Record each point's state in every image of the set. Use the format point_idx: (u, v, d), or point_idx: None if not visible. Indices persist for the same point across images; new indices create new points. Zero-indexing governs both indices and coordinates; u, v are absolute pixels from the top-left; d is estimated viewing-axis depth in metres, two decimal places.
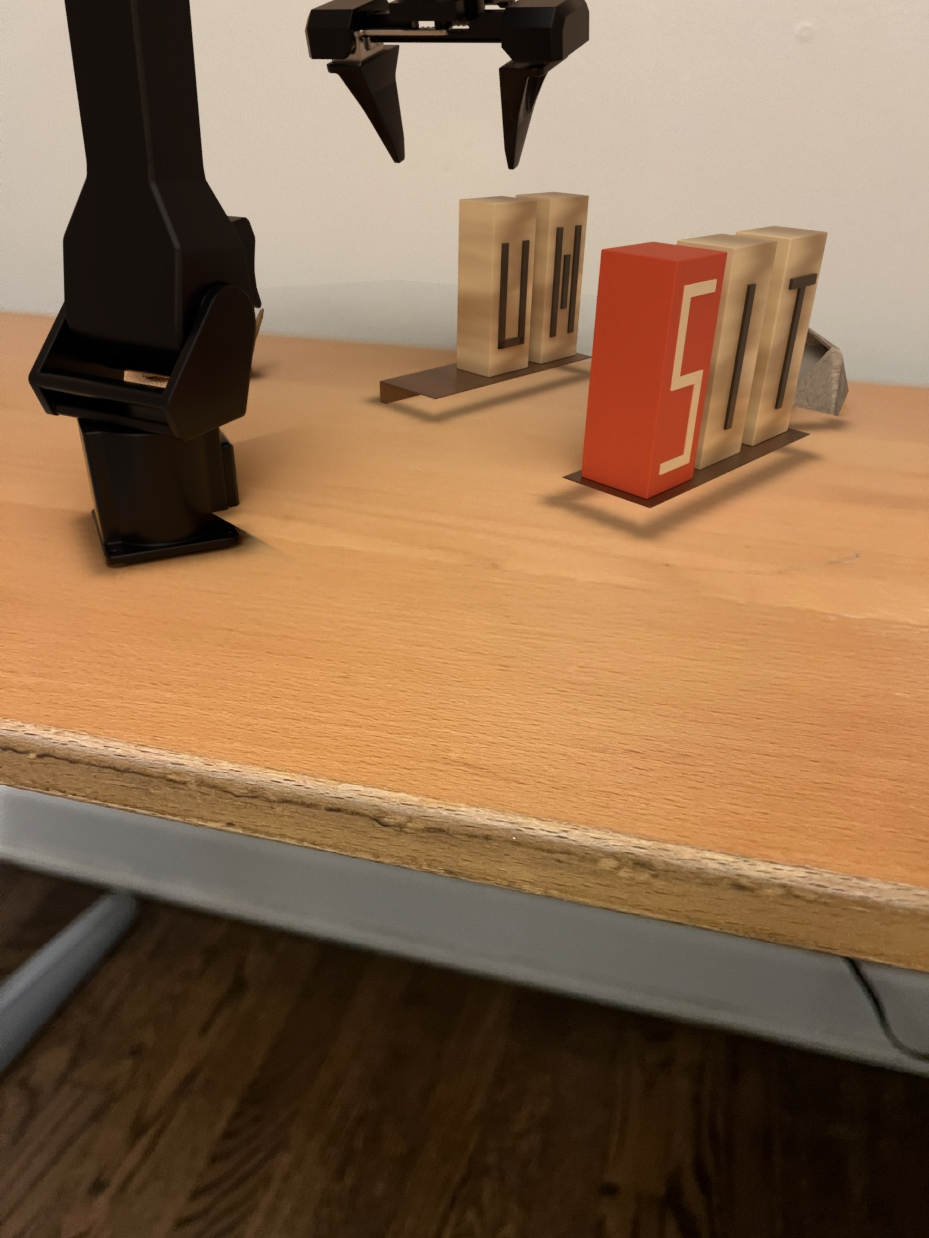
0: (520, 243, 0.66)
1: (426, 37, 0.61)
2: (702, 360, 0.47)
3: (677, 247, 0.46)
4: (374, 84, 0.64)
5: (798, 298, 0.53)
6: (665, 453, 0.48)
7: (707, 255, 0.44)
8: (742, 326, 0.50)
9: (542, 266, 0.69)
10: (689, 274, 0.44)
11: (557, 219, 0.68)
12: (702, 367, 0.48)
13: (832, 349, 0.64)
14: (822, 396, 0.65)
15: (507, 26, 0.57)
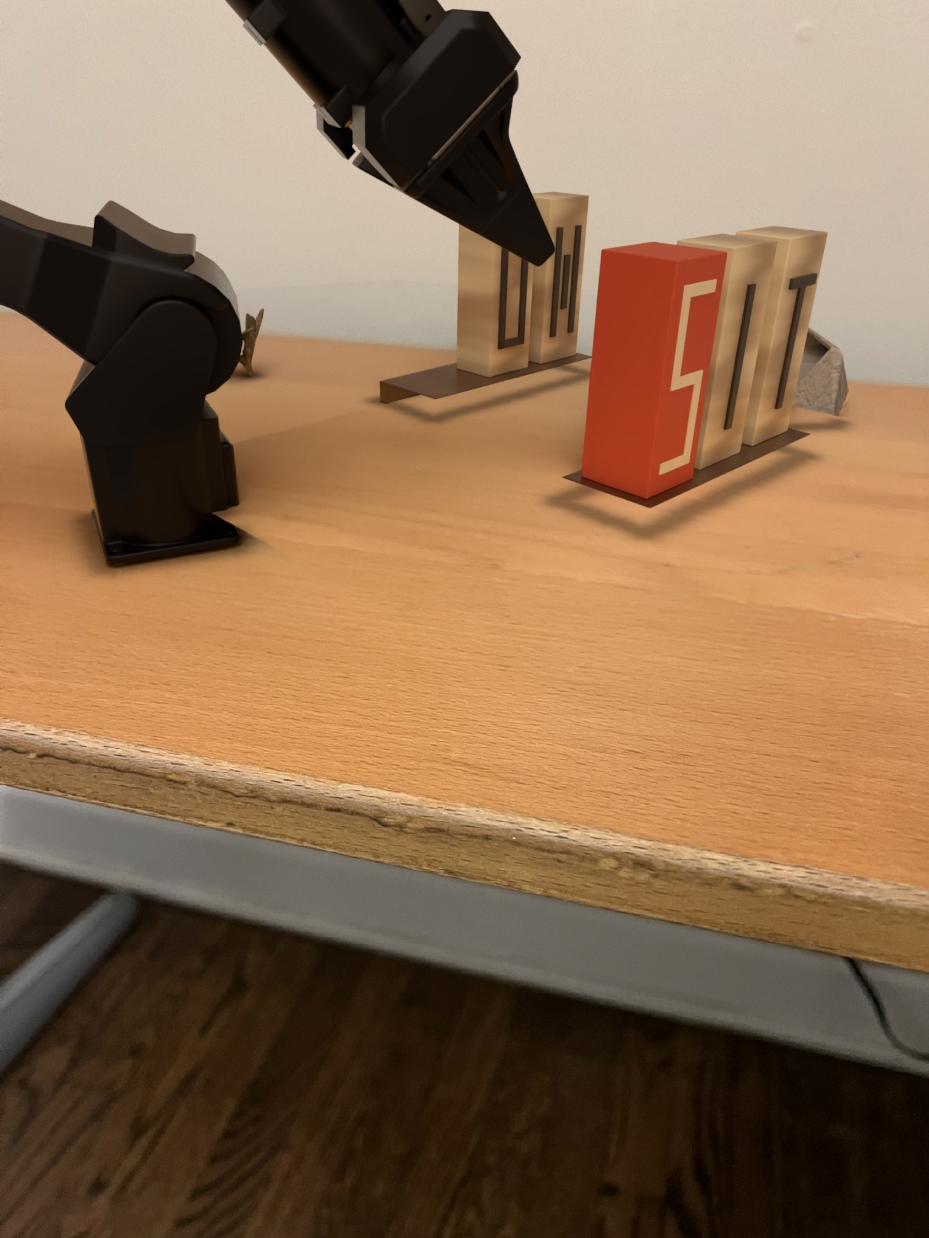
0: None
1: None
2: (702, 360, 0.47)
3: (677, 247, 0.46)
4: None
5: (798, 298, 0.53)
6: (665, 453, 0.48)
7: (707, 255, 0.44)
8: (742, 326, 0.50)
9: (542, 266, 0.69)
10: (689, 274, 0.44)
11: (557, 219, 0.68)
12: (702, 367, 0.48)
13: (832, 349, 0.64)
14: (822, 396, 0.65)
15: (355, 140, 0.35)
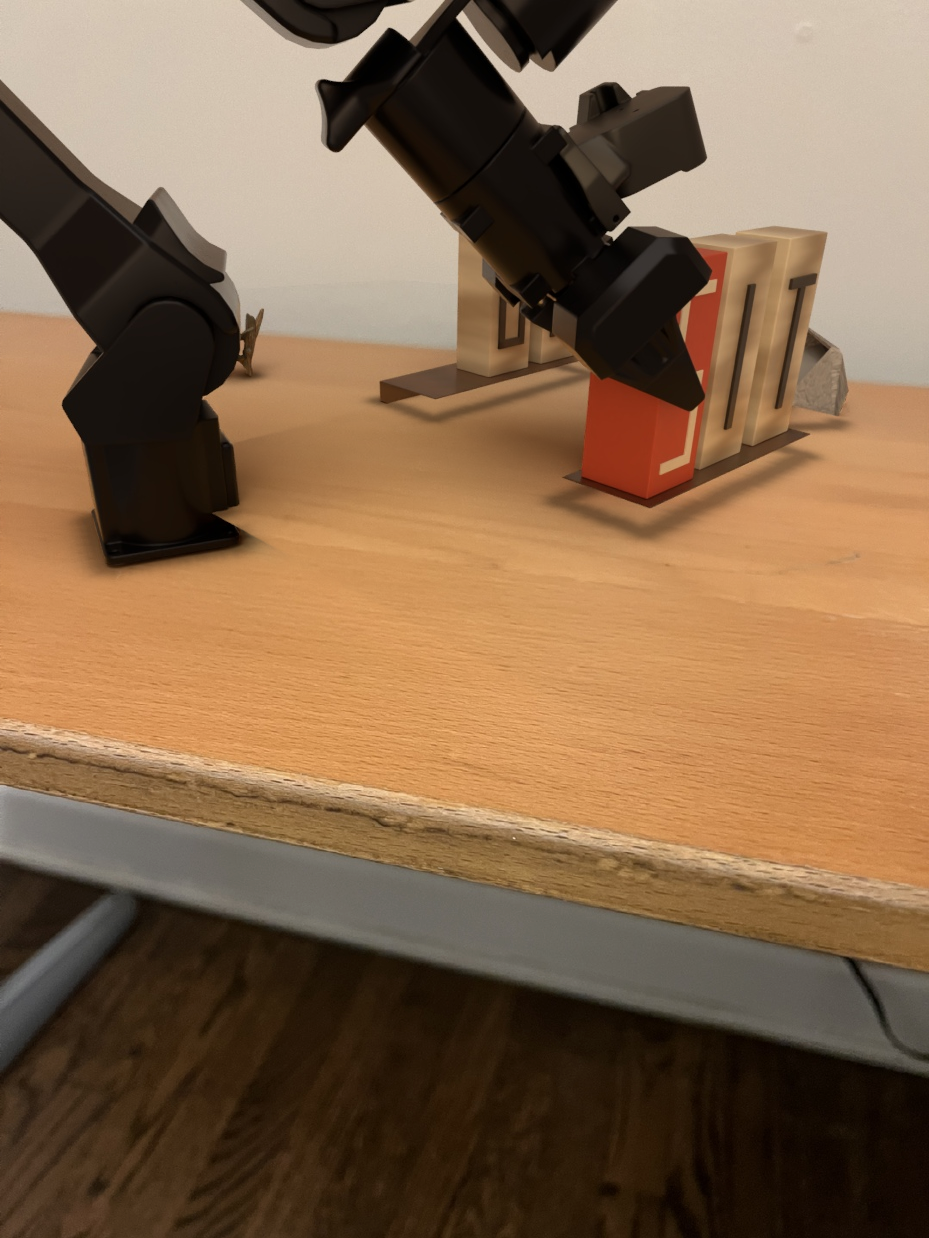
0: None
1: None
2: (703, 360, 0.47)
3: None
4: None
5: (798, 298, 0.53)
6: (665, 453, 0.48)
7: (707, 255, 0.44)
8: (742, 326, 0.50)
9: None
10: None
11: None
12: (703, 367, 0.48)
13: (832, 349, 0.64)
14: (822, 396, 0.65)
15: (555, 331, 0.40)
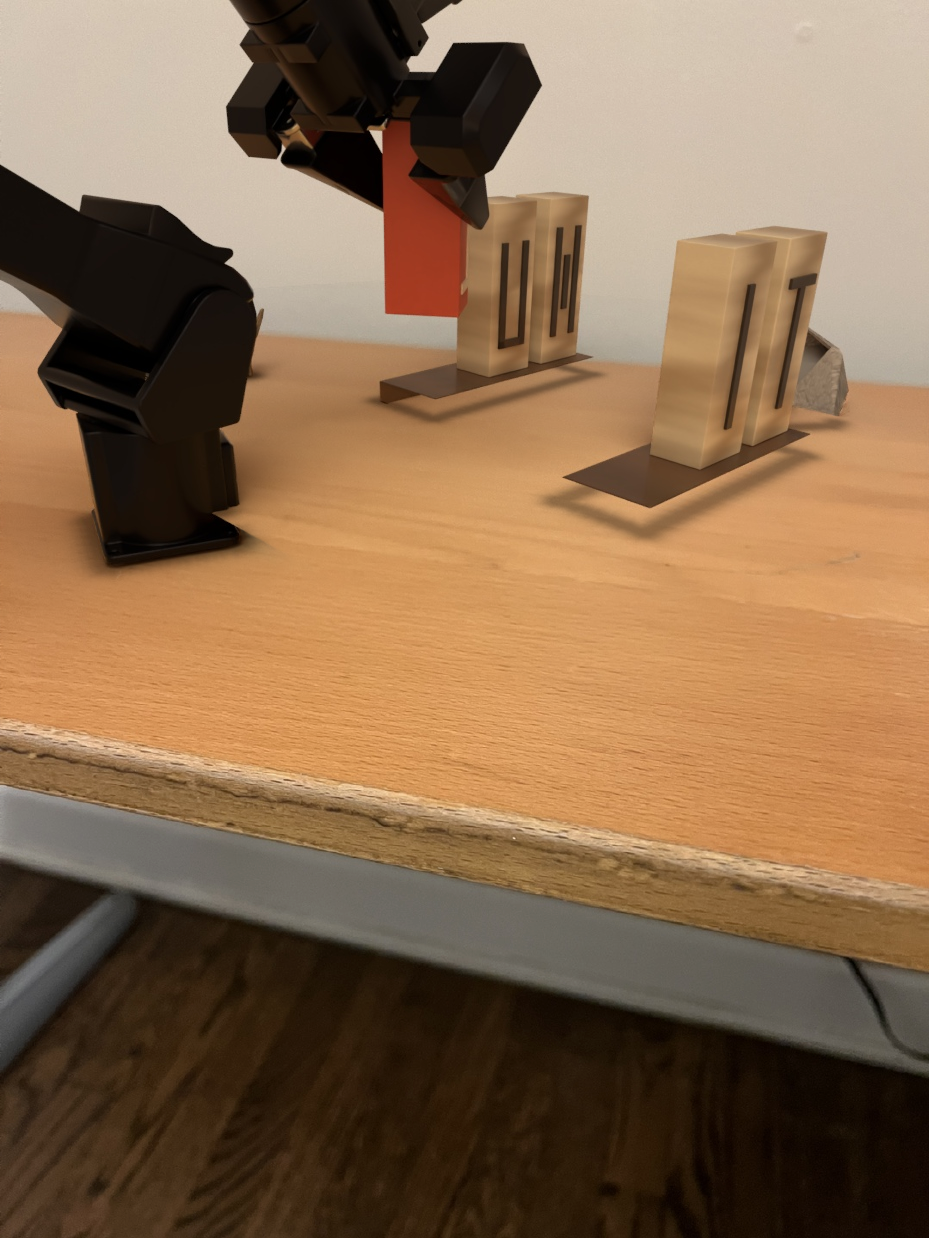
0: (520, 243, 0.66)
1: None
2: None
3: None
4: (338, 166, 0.52)
5: (798, 298, 0.53)
6: (462, 274, 0.55)
7: None
8: (742, 326, 0.50)
9: (542, 266, 0.69)
10: None
11: (557, 219, 0.68)
12: None
13: (832, 349, 0.64)
14: (822, 396, 0.65)
15: (417, 142, 0.44)
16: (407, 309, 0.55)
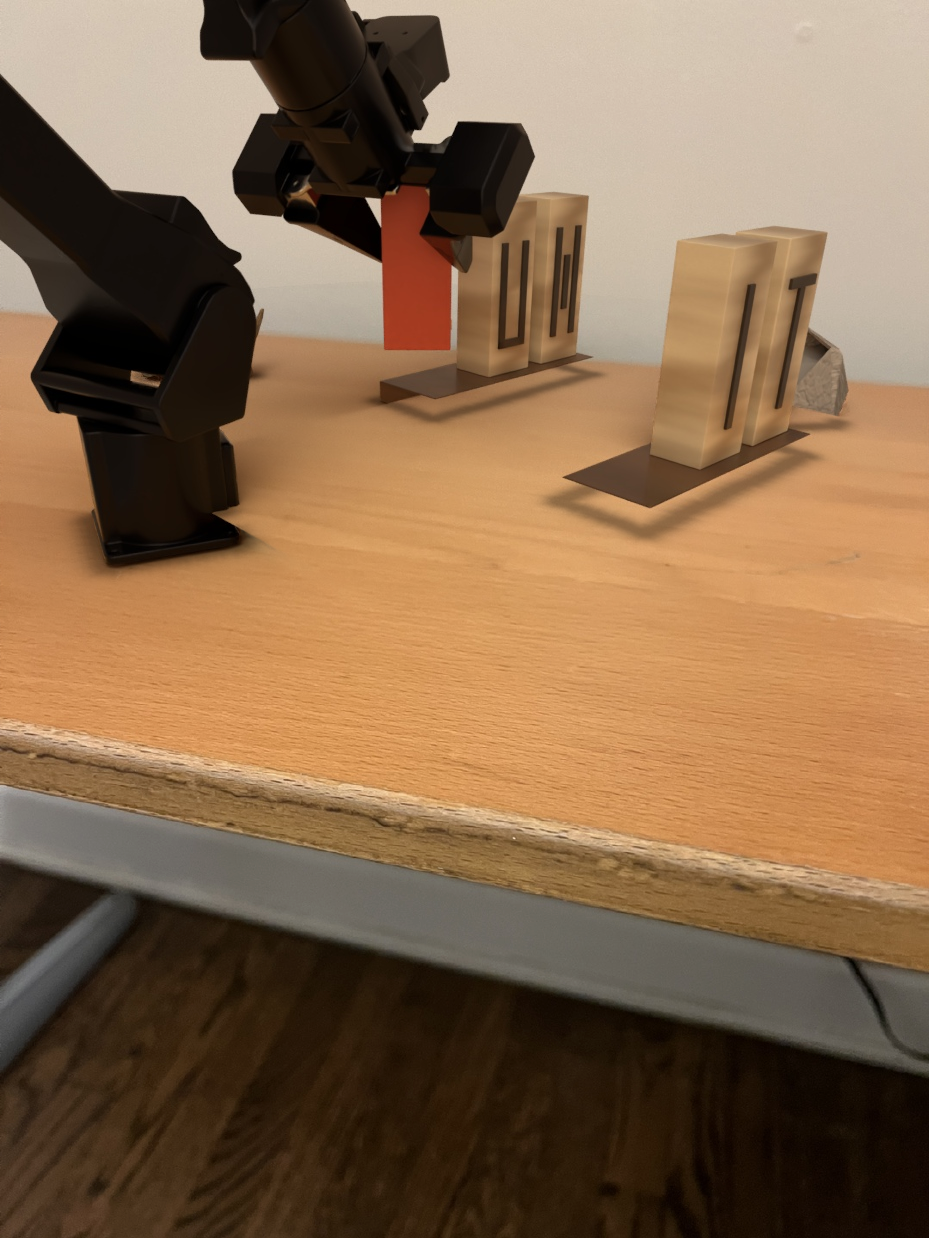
0: (520, 243, 0.66)
1: None
2: None
3: None
4: (337, 221, 0.58)
5: (798, 298, 0.53)
6: None
7: None
8: (742, 326, 0.50)
9: (542, 266, 0.69)
10: None
11: (557, 219, 0.68)
12: None
13: (832, 349, 0.64)
14: (822, 396, 0.65)
15: (436, 209, 0.51)
16: (404, 345, 0.61)
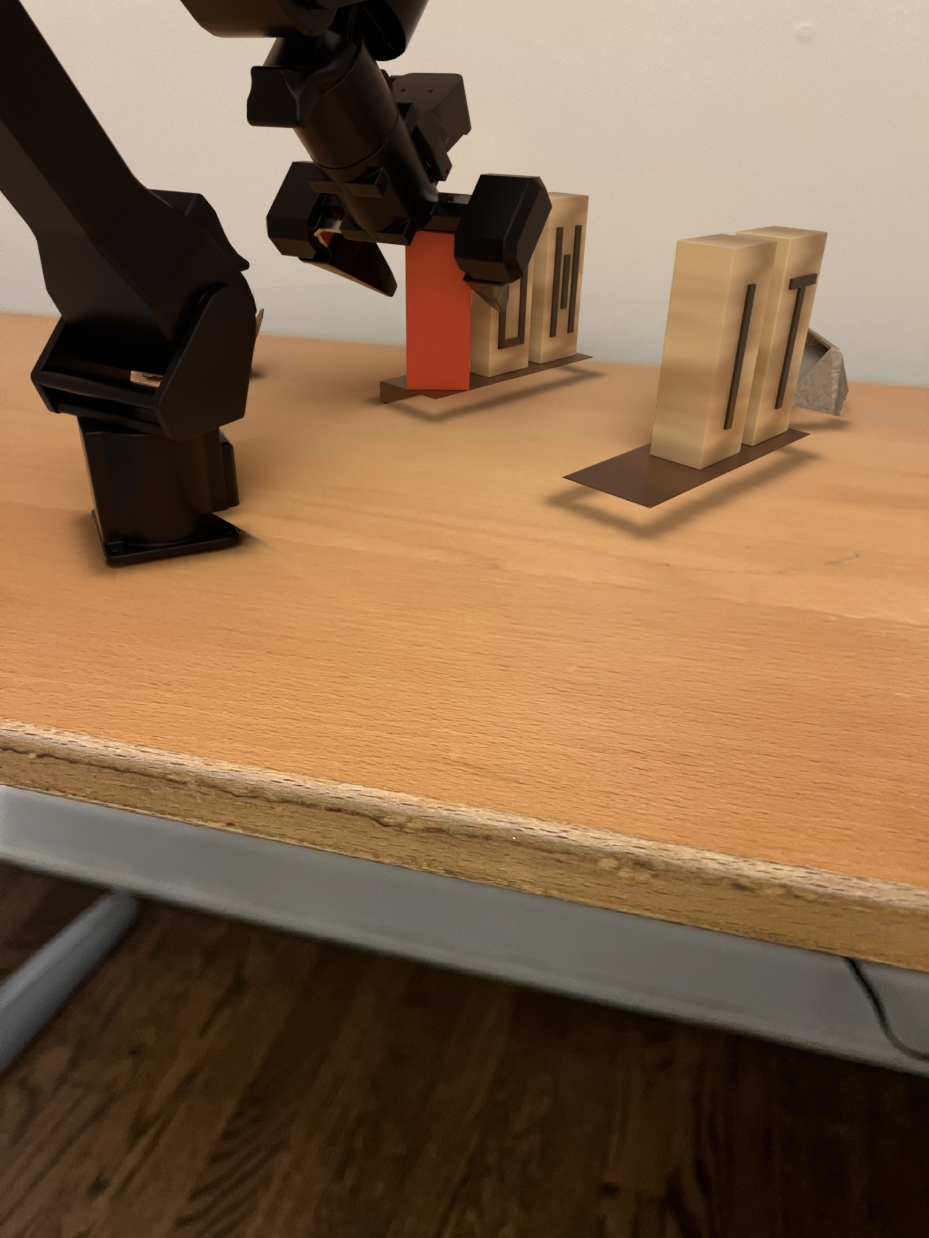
0: None
1: None
2: None
3: None
4: (348, 260, 0.63)
5: (798, 298, 0.53)
6: None
7: None
8: (742, 326, 0.50)
9: (542, 266, 0.69)
10: None
11: (557, 219, 0.68)
12: None
13: (832, 349, 0.64)
14: (822, 396, 0.65)
15: (460, 256, 0.54)
16: (425, 385, 0.65)
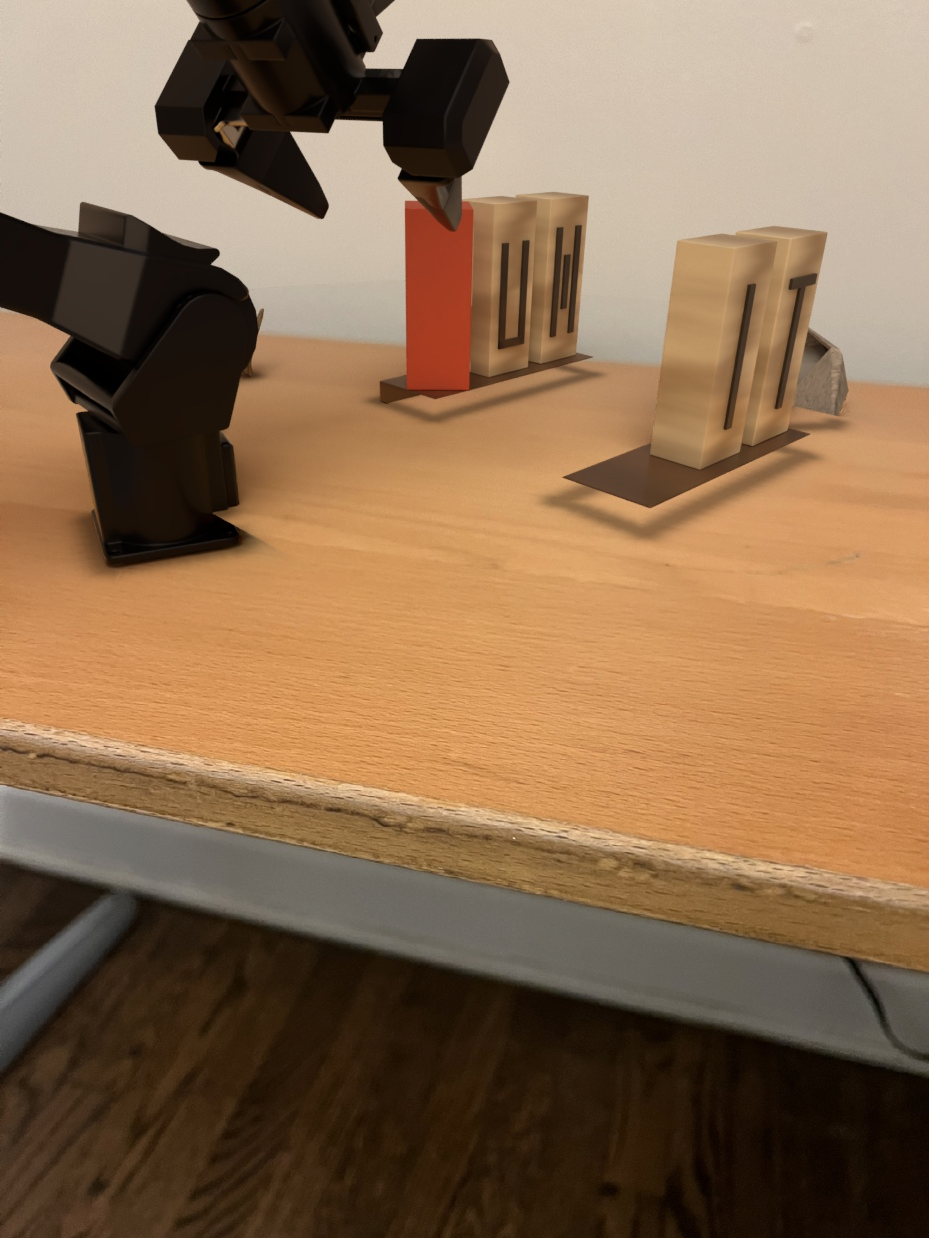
0: (520, 243, 0.66)
1: None
2: None
3: None
4: (261, 166, 0.50)
5: (798, 298, 0.53)
6: None
7: (469, 204, 0.62)
8: (742, 326, 0.50)
9: (542, 266, 0.69)
10: None
11: (557, 219, 0.68)
12: None
13: (832, 349, 0.64)
14: (822, 396, 0.65)
15: (391, 143, 0.42)
16: (425, 385, 0.65)
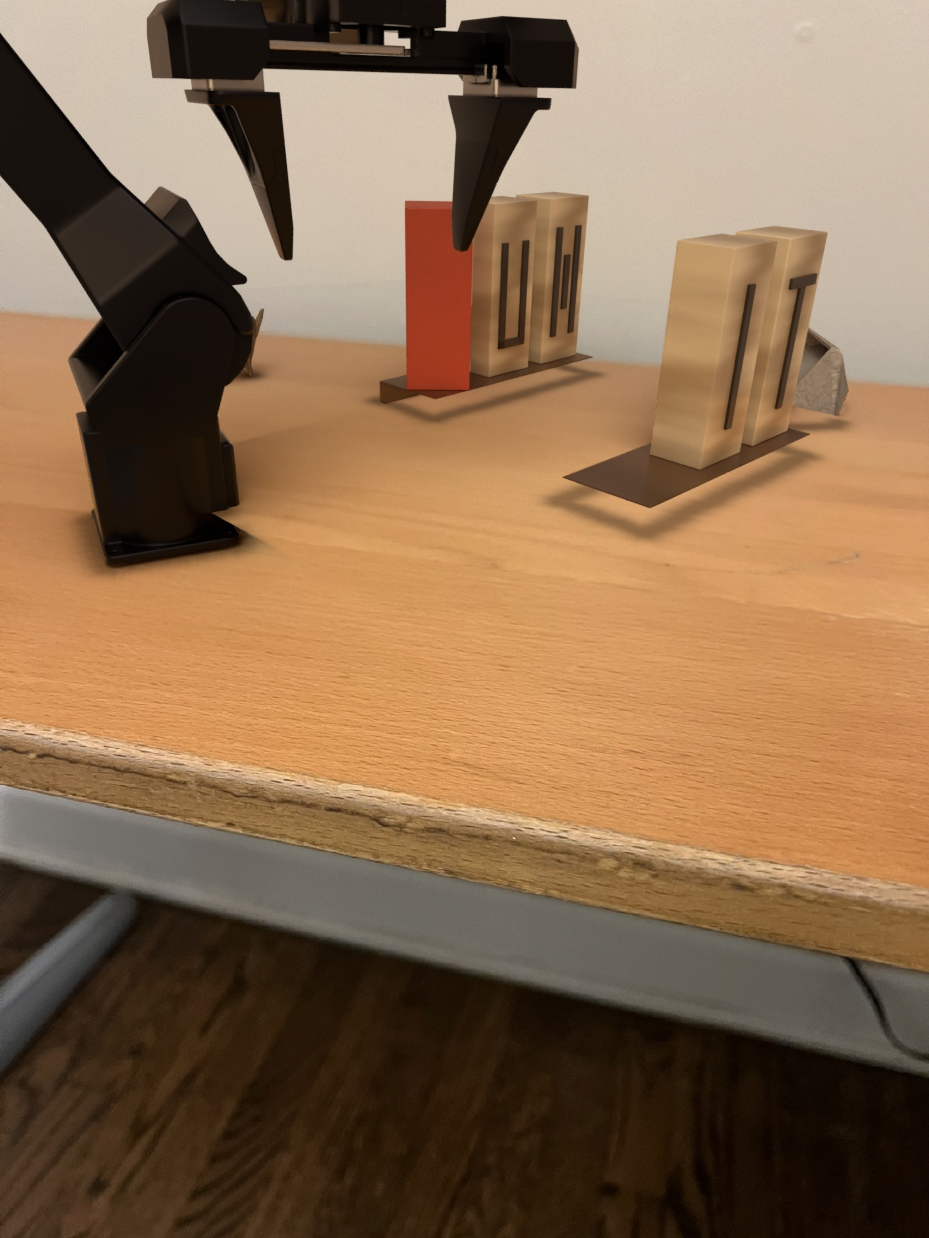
0: (520, 243, 0.66)
1: (351, 63, 0.41)
2: None
3: (435, 202, 0.63)
4: None
5: (798, 298, 0.53)
6: None
7: None
8: (742, 326, 0.50)
9: (542, 266, 0.69)
10: None
11: (557, 219, 0.68)
12: None
13: (832, 349, 0.64)
14: (822, 396, 0.65)
15: (518, 38, 0.41)
16: (425, 385, 0.65)
